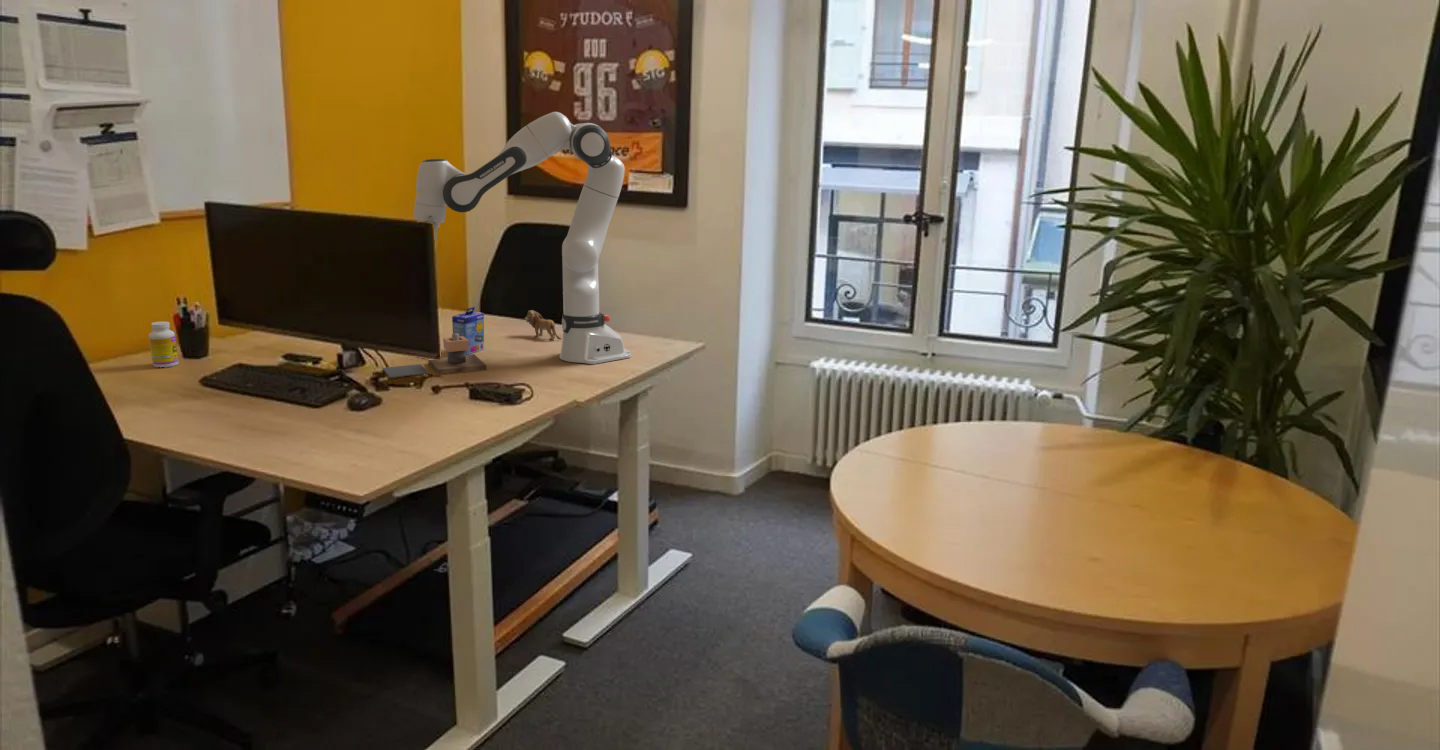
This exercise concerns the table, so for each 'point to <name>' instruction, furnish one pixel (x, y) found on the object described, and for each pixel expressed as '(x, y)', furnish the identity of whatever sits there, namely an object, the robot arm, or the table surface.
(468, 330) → the ink cartridge box
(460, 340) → the pink slotted block
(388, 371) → the mat
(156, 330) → the supplement bottle
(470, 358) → the stand
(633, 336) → the table surface
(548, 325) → the lion figurine
